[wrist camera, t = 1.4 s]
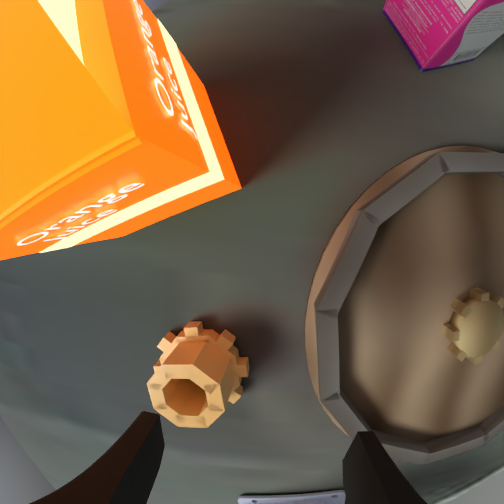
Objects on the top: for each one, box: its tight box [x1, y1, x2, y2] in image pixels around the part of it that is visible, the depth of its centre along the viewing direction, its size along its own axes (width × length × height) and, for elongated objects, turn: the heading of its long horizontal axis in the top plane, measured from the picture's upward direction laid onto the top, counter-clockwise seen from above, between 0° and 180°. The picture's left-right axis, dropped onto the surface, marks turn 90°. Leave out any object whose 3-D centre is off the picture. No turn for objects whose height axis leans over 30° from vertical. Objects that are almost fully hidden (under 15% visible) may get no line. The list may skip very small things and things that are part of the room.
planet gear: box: [147, 321, 250, 428], centre depth 19 cm, size 6×6×4 cm
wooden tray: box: [305, 146, 504, 465], centre depth 18 cm, size 24×24×3 cm
